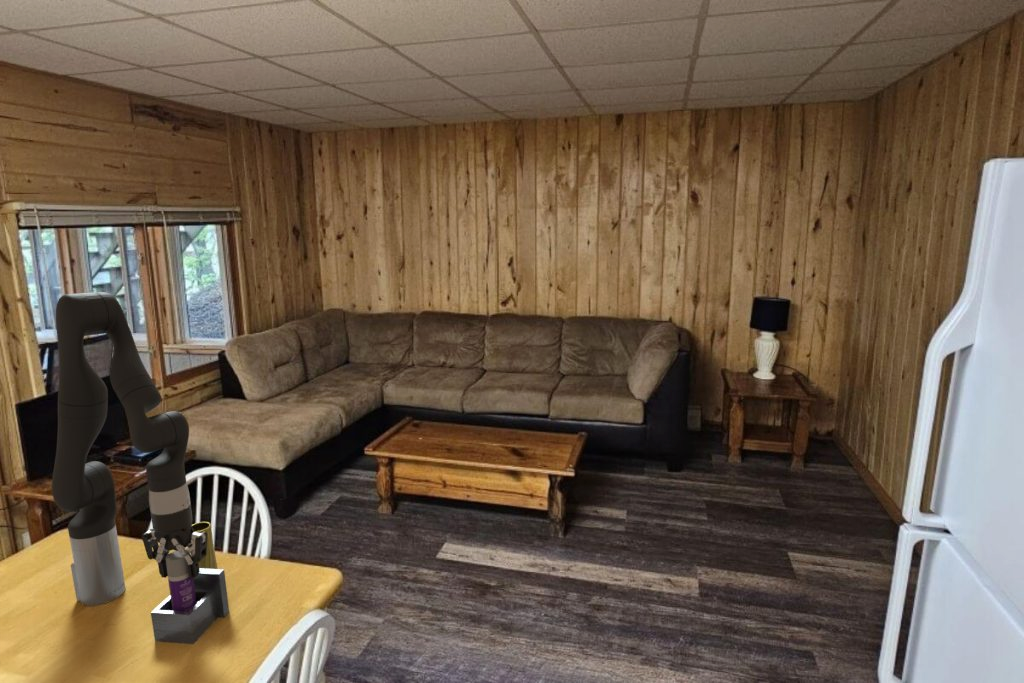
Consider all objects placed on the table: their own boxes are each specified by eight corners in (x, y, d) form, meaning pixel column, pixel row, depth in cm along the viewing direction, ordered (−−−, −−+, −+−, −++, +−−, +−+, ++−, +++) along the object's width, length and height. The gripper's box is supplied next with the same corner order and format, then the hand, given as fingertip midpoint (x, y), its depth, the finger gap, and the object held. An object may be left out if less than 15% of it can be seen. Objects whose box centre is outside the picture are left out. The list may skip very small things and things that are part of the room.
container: (187, 624, 134) (178, 561, 131) (169, 622, 135) (159, 559, 132) (202, 611, 138) (194, 550, 135) (184, 608, 139) (175, 548, 136)
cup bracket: (148, 640, 133) (141, 595, 131) (181, 609, 144) (175, 566, 142) (200, 644, 132) (193, 598, 130) (229, 612, 143) (224, 569, 140)
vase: (186, 582, 155) (179, 530, 152) (206, 569, 160) (200, 519, 158) (204, 587, 153) (197, 534, 150) (224, 574, 158) (218, 523, 155)
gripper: (126, 511, 128) (137, 584, 132) (190, 514, 127) (200, 588, 130) (151, 495, 136) (161, 565, 139) (212, 498, 134) (221, 568, 137)
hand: (180, 576), depth 134 cm, fingers open, 6 cm apart
